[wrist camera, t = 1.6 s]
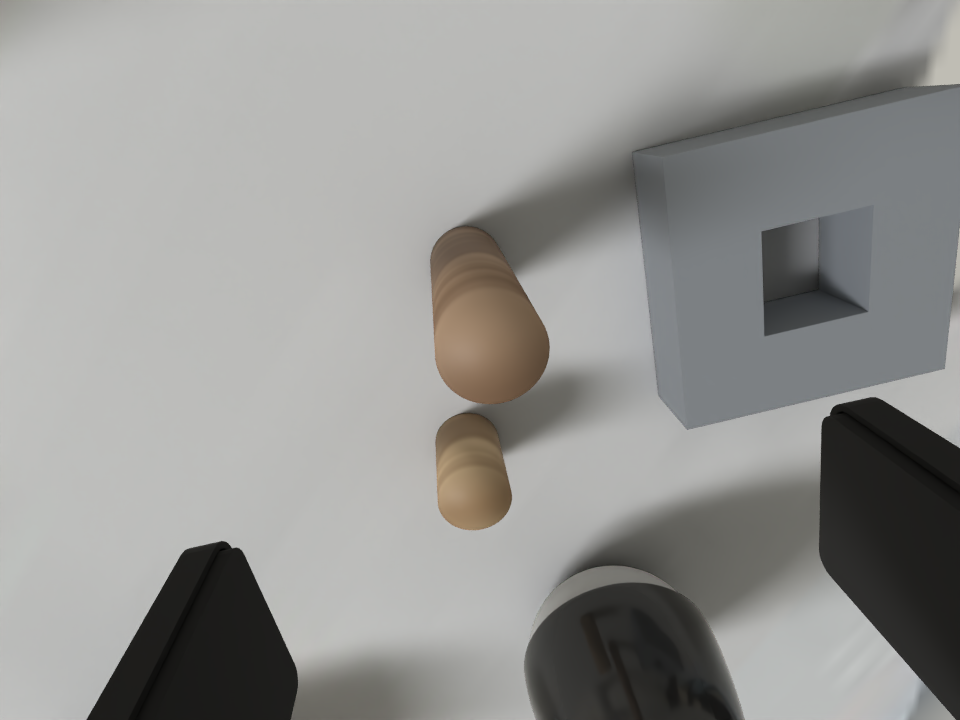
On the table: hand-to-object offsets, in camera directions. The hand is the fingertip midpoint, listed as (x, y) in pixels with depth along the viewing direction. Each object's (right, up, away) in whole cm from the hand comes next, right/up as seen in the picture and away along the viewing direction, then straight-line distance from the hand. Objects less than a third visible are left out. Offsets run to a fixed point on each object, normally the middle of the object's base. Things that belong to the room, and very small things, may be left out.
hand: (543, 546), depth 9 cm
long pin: (-2, +7, +17) cm, 19 cm away
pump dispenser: (+6, -12, +26) cm, 29 cm away
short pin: (-2, -1, +21) cm, 21 cm away
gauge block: (+13, +8, +18) cm, 24 cm away
